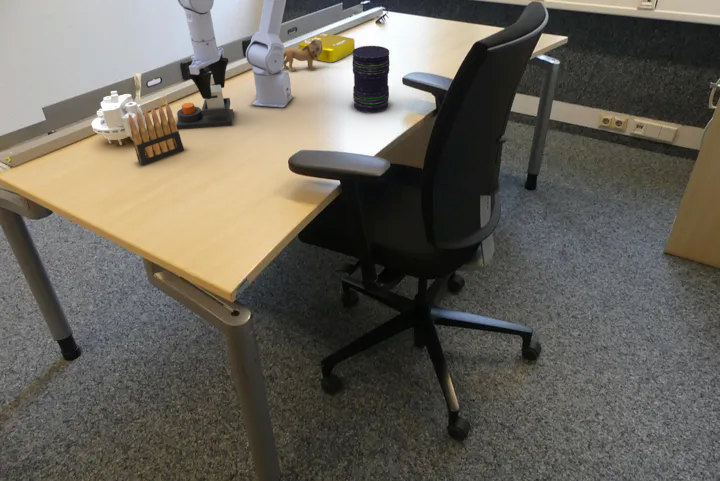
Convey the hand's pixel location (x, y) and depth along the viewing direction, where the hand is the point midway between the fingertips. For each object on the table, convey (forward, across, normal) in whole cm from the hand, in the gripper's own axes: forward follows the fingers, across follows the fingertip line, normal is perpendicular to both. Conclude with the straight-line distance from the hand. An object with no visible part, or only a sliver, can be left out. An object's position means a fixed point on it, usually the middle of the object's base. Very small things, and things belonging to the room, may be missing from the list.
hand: (213, 92), depth 133 cm
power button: (+5, +3, -7) cm, 9 cm away
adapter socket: (+5, 0, 0) cm, 5 cm away
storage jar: (+8, -17, +38) cm, 42 cm away
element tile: (+8, -59, +13) cm, 61 cm away
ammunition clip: (+8, +22, -4) cm, 23 cm away
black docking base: (+8, +1, -3) cm, 8 cm away
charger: (+4, 0, 0) cm, 4 cm away
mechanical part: (+8, +16, -18) cm, 26 cm away
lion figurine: (+8, -43, +9) cm, 44 cm away
